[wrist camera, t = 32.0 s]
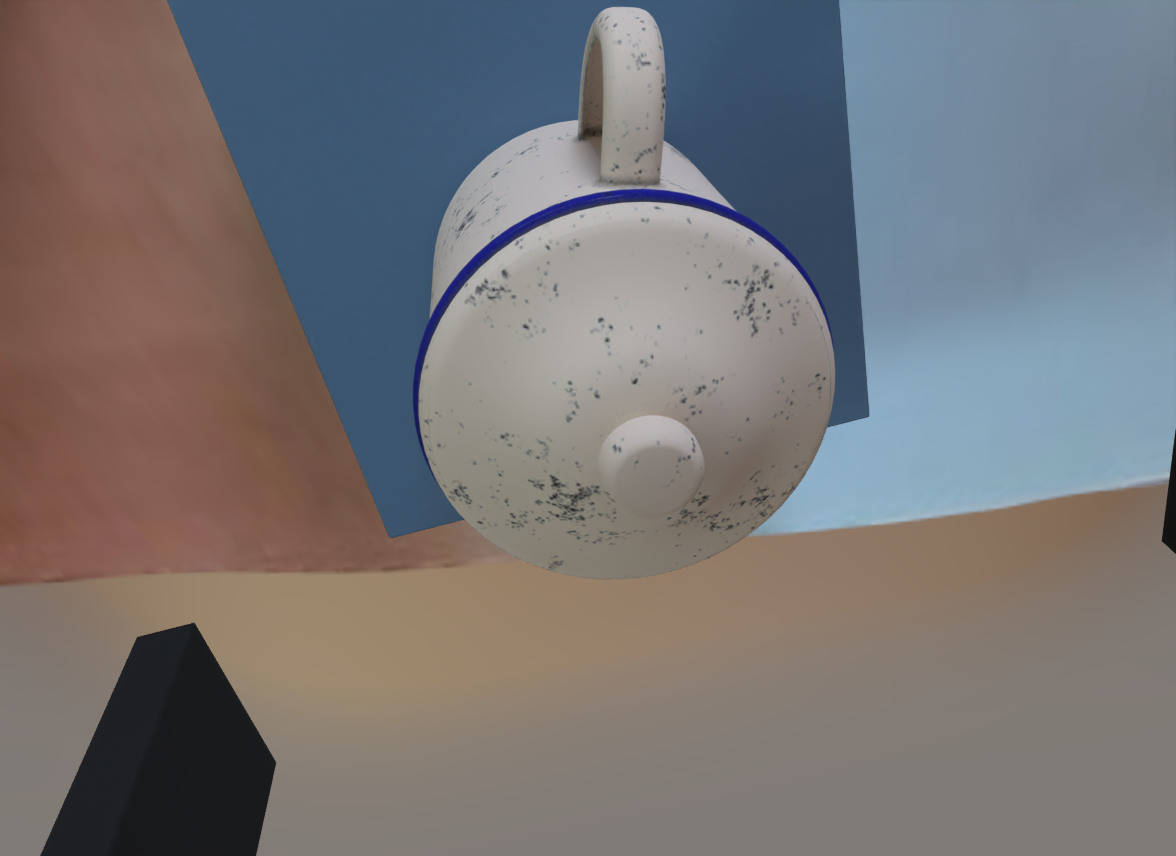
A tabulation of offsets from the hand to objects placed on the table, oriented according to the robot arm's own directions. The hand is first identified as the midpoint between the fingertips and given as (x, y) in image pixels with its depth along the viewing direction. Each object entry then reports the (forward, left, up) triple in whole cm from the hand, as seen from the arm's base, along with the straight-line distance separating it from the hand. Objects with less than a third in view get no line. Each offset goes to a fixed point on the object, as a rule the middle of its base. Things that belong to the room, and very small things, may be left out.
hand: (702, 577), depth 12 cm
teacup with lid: (0, 0, -16) cm, 16 cm away
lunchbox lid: (0, 0, -17) cm, 17 cm away
